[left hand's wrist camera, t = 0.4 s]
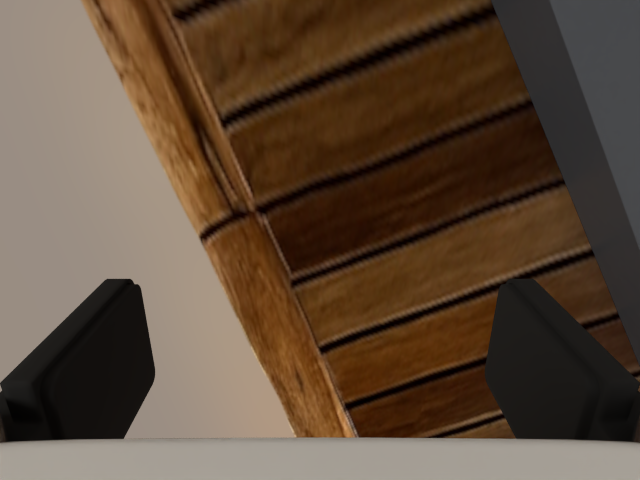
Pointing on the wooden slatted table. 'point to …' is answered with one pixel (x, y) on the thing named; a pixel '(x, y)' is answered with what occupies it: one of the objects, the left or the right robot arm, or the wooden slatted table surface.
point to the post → (590, 122)
